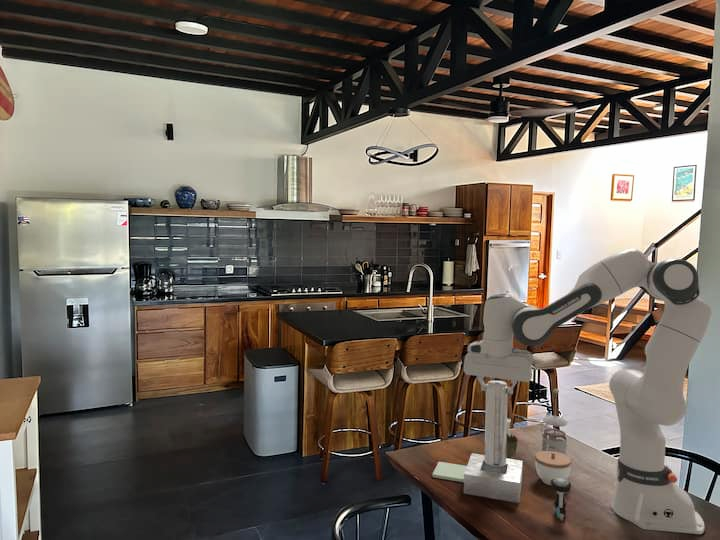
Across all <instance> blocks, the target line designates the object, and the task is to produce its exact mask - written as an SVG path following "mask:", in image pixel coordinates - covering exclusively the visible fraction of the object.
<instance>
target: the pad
mask: <svg viewBox="0 0 720 540" xmlns="http://www.w3.org/2000/svg"><path fill="white" fill-rule="evenodd" d="M466 467H467V465H463V464H457V463H449V462H445V461H438V462H437V465H436V467H435V468H434V470H433V472H432V475H431V477H432V478H434V479H435V478H436V479H441V480H447V481H453V482H459V483H464V473H465V470H466Z"/></svg>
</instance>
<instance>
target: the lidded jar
mask: <svg viewBox="0 0 720 540" xmlns="http://www.w3.org/2000/svg"><path fill="white" fill-rule="evenodd" d="M534 460H535V461H534V462H535V463H534V464H535V471H536V474H537V475H538V477H539V478H540V479H541V481H542V482H543V483H544V484H546V485H548V486H551V480H552V479H554V478H555V477H563V478H566V479H567V480H568V478H569V477H570V474H571V467H572V459H571V458H570V457H569V456H568V455H567V454H565V455H564V454H562V453H559V452H554V451H542V450H541V451H538V452H536V453H535V454H534Z"/></svg>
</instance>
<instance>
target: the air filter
mask: <svg viewBox="0 0 720 540" xmlns="http://www.w3.org/2000/svg"><path fill="white" fill-rule="evenodd" d="M485 384H486V391H485V418H484V419H485V420H484V421H485V422H484V426H485V427H484V455H485V459H484V461H485V463H486V464H488V465H490V466H495V467H501V466H504V465H506V446H507V418H508V396H509V394H507V388H508V387H509V386H508V383H506V382H505V381H503V380H488V381H487V383H485Z"/></svg>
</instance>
